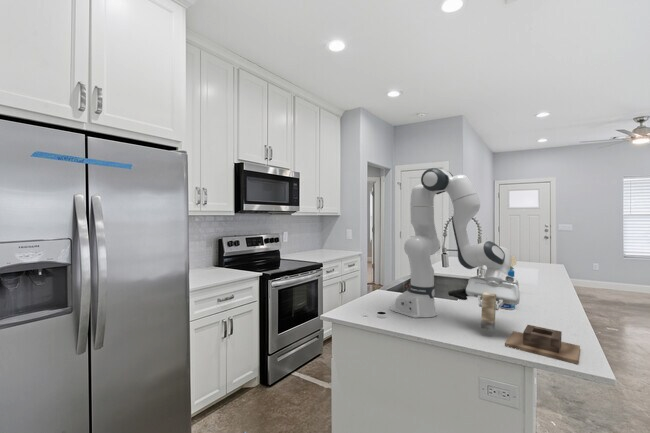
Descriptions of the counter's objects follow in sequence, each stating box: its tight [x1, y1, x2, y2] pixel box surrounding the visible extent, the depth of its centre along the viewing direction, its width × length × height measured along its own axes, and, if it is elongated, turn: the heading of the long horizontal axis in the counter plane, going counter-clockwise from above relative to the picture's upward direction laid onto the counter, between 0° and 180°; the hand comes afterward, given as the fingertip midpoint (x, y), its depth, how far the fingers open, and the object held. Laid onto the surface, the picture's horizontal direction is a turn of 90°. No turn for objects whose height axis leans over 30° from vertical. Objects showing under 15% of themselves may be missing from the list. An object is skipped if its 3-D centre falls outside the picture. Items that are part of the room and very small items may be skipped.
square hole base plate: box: [504, 324, 581, 365], centre depth 123 cm, size 22×16×6 cm
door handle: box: [447, 287, 478, 301], centre depth 194 cm, size 3×20×16 cm
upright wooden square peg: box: [480, 293, 497, 331], centre depth 133 cm, size 4×4×14 cm
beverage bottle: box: [496, 269, 516, 311], centre depth 172 cm, size 8×8×20 cm
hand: (488, 307), depth 133 cm, fingers closed on upright wooden square peg, 4 cm apart
